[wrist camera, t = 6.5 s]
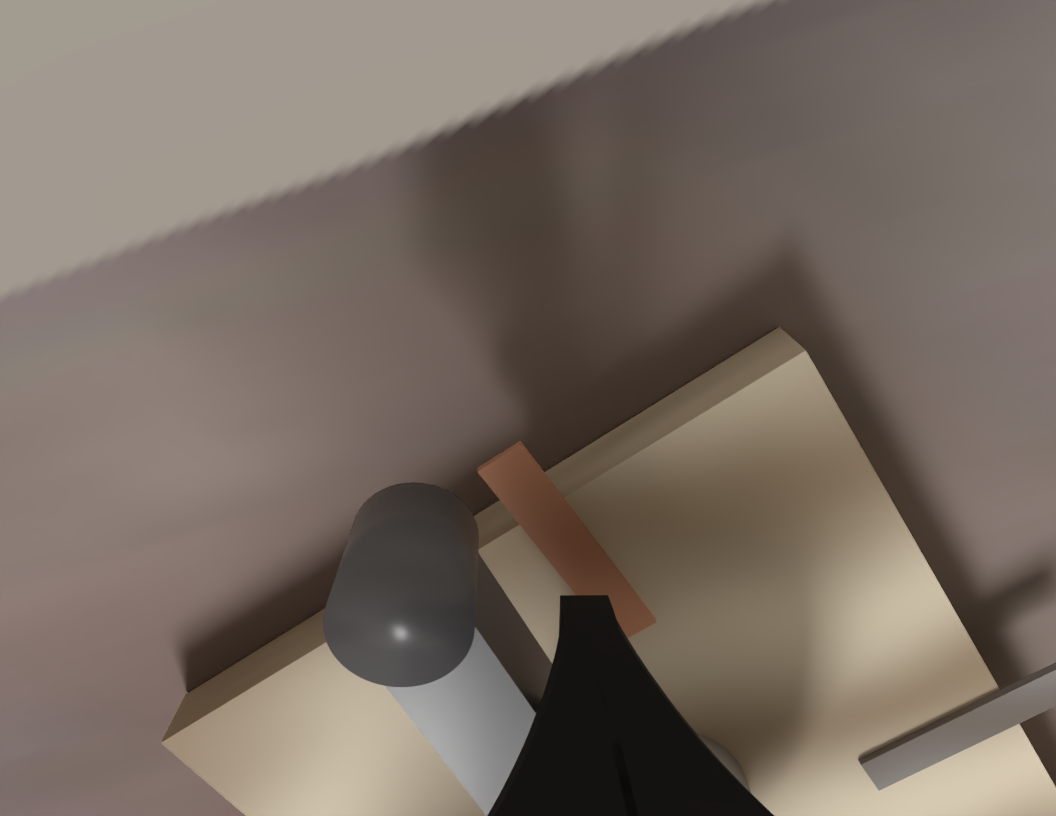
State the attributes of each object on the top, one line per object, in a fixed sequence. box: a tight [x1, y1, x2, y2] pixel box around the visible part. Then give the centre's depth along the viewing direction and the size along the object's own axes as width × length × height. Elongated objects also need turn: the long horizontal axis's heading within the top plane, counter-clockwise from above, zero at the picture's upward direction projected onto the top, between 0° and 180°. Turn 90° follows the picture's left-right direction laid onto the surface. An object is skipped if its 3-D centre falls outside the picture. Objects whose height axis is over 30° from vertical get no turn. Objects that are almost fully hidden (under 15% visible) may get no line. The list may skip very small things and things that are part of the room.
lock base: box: [161, 327, 1056, 816], centre depth 18 cm, size 18×18×4 cm
